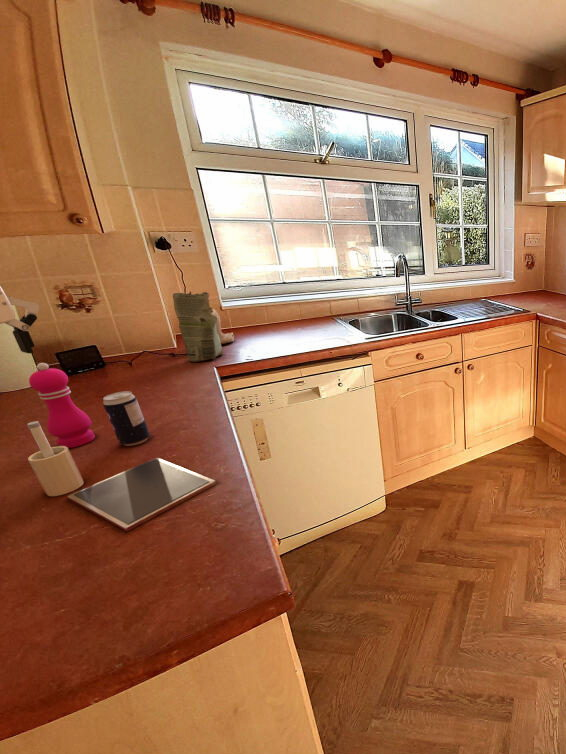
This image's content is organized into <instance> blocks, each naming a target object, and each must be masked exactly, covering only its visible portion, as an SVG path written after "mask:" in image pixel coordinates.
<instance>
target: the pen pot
mask: <svg viewBox="0 0 566 754" xmlns="http://www.w3.org/2000/svg"><path fill="white" fill-rule="evenodd" d="M51 448H52V450H53V452H54V456H52V457H48V458H44V456H43V454H42V452H41V450H39V451H36V452H35V453H33V454H31V455H29V456H28V458H27V461H28V463H29V465H30V467H31V468H32V470H33V472H34V474H35V476H36V478H37V480H38V482H39V484H40V486H41V487H42V490H43V491H44V493H45V494H46V495H47V496H48V497H57V496H63V495H67V494H70V493H71V492H75V491H77V489H79V488H80V487H82V486H83V485H84V483H85V482H84V478H83V477H82V475H81V472H80V470H79V468H78V466H77V464H76V461H75V459H74V457H73V456H72V455H73V454H72V453H71V452H70V451H71V450H70V448H68V447H66V446H59V445H57V446H52V447H51Z"/></svg>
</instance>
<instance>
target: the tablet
mask: <svg viewBox="0 0 566 754" xmlns="http://www.w3.org/2000/svg"><path fill="white" fill-rule="evenodd" d="M216 485H217V481H216V479H213V478H210V477H207V476H206V475H202V474H200V473H198V472H195V471H192V470H190V469H188V468H184V467H182V466H180V465H177V464H175V463H173V462H170V461H167V460H164V459H162V458H160V457H157V456H155V458H152V459H149V460H147V461H145V462H143V463H140V464H138V465H135V466H134V467H131V468H128V469H127V470H124V471H121V472H120V473H117V474H115V475H113V476H110V477H108V478H106V479H103V480H101V481H99V482H96V483H94V484H92V485H90V486H88V487H84V488H83V489H80V490H78V491H75V492H74V493H71V494H69V495H67V497H66V498H68V500H69V501H71V502H72V503H74V504H76V505H78V506H80V507H82V508H83V509H85V510H87V511H89V512H91V513H93V514H94V515H96V516H97V517H100V518H101V519H103V520H105V521H107V522H108V523H110V524H112V525H114V526H116V527H117V528H119V529H121V530H123V531H125V532H126V533H128V532H129V531H131V530H133V529H135V528H137V527H139V526H141V525H143V524H145V523H146V522H148V521H150V520H151V519H153V518H156V517H157V516H160V515H161V514H163V513H165V512H167V511H169V510H171V509H172V508H174V507H176V506H178V505H180V504H181V503H184V502H186V501H188V500H190V499H191V498H193V497H195V496H197V495H199V494H201V493H203V492H204V491H206V490H208V489H209V488H212V487H213V486H216Z"/></svg>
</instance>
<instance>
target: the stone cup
mask: <svg viewBox="0 0 566 754" xmlns="http://www.w3.org/2000/svg"><path fill="white" fill-rule="evenodd" d="M211 313H212V316H216V317H217V323H216V330H217V333H218V334H219V338H220V344H221V345H224V344H229V343H233V342H235V341H234V340H235V336H234V333H233V332H227V333H223V332H222V323H221V322H222V321H221V317H220V315H219V313H218V312H217V310H216V309H214V308H213V309H212V311H211Z"/></svg>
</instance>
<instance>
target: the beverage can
mask: <svg viewBox="0 0 566 754" xmlns="http://www.w3.org/2000/svg"><path fill="white" fill-rule="evenodd" d="M102 400H103V403H102V405H103V408H104V411H105V413H106V415H107V417H108V420H109V422H110V424H111V427H112V429H113V432H114V434H115V436H116V438H117V441H118V443H119V444H121V445H124V446H126V447H131V446H133V447H134V446H136V445H140V444H143V443H144V442H146V441H147V440H148V438H149V437H150V435H151V433H150V430H149V427H148V425H147V422H146V421H145V417H144V415H143V412H142V409H141V407H140V405H139V402H138V399H137V397H136V396H135V395H134V394H133V393H132V391H129V390H126V391H124V390H123V391H118V392H114V393H110V394H107V395H105V396H104V397H103V398H102Z"/></svg>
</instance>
